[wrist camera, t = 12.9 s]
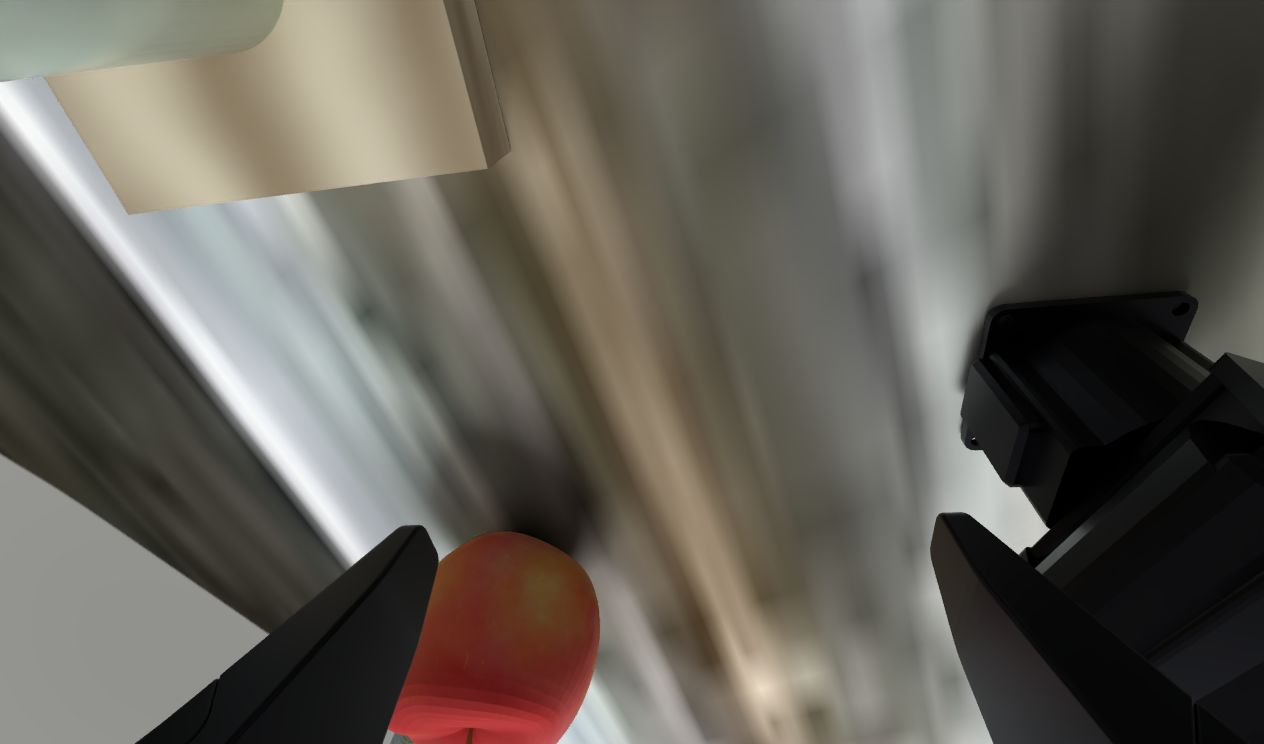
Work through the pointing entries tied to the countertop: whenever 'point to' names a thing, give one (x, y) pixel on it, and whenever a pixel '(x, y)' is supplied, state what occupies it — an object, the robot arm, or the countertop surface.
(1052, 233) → the countertop surface
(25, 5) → the sage bottle
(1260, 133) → the countertop surface
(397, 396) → the countertop surface
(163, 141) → the birch pad
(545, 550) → the apple
